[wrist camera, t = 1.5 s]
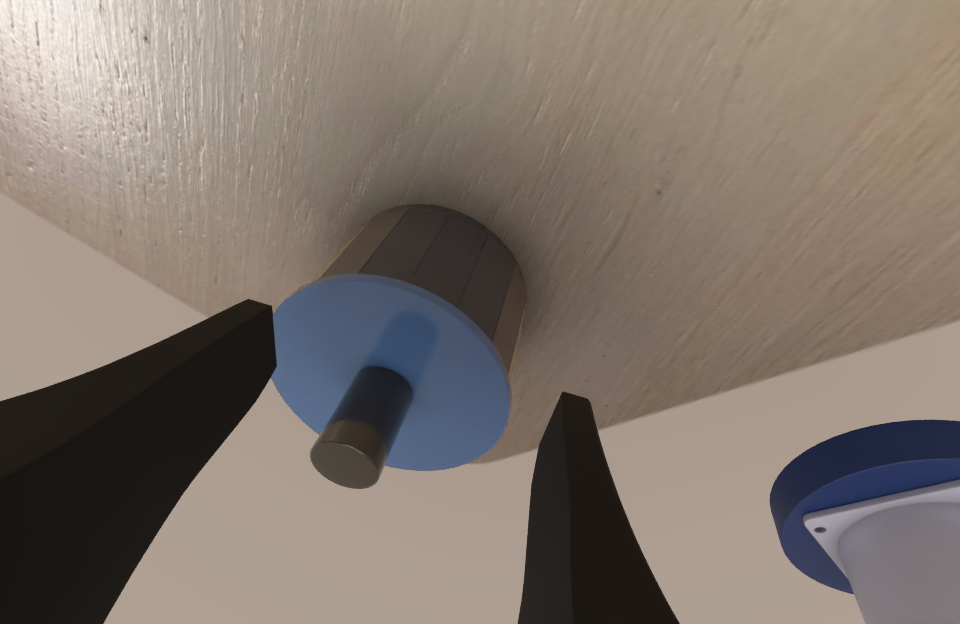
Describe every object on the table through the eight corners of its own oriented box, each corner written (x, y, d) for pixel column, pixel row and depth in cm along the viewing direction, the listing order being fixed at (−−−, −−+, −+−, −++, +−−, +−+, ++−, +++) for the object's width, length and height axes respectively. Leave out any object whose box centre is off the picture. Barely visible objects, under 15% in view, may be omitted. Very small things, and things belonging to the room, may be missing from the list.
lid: (566, 402, 19) (555, 513, 15) (401, 474, 24) (363, 570, 20) (381, 210, 16) (311, 291, 12) (236, 340, 21) (155, 425, 17)
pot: (565, 313, 23) (553, 412, 18) (434, 385, 28) (396, 479, 23) (433, 162, 20) (376, 231, 15) (311, 271, 25) (237, 351, 20)
